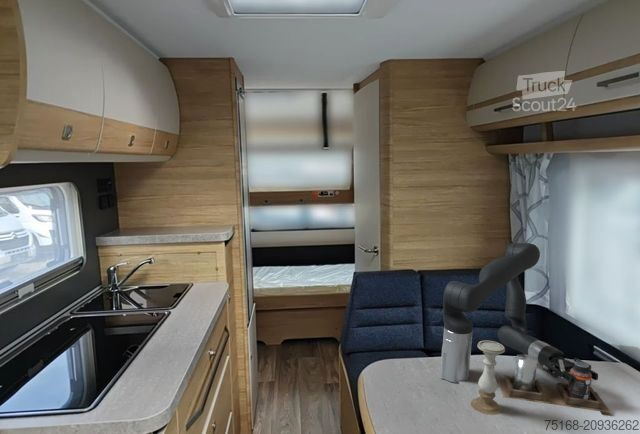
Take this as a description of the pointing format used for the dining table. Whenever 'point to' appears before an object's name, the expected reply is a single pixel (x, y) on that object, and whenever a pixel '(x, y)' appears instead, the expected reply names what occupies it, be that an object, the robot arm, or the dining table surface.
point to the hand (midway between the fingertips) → (586, 378)
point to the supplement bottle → (580, 381)
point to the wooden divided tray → (553, 395)
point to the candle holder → (488, 379)
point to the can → (525, 373)
